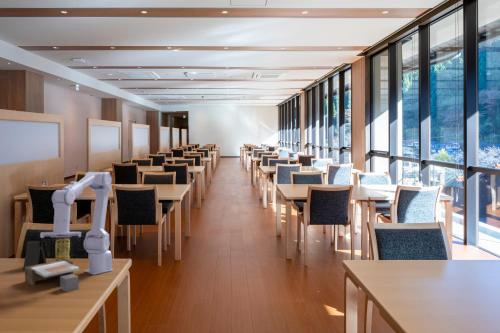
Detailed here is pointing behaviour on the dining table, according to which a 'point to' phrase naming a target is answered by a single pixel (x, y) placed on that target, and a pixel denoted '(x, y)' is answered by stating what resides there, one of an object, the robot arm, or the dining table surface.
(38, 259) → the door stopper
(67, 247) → the sauce bottle
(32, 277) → the trapdoor frame
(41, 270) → the trapdoor
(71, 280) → the stone
